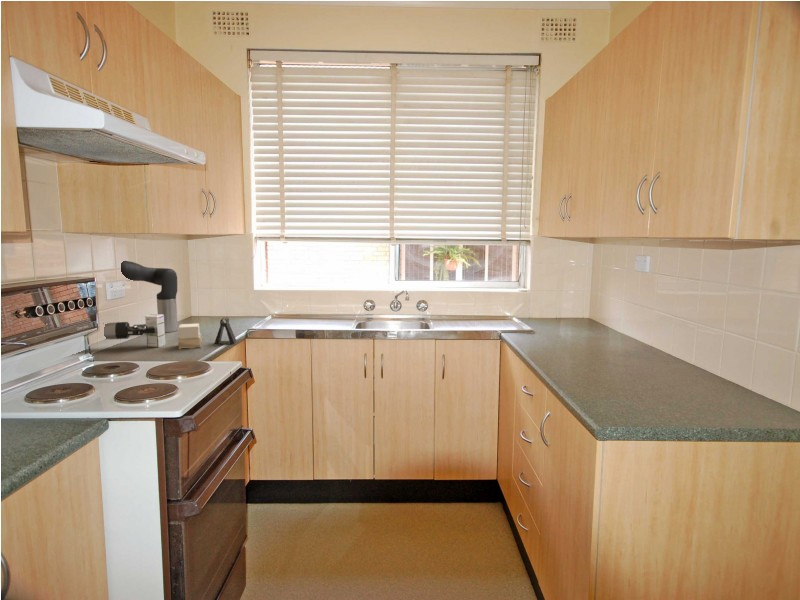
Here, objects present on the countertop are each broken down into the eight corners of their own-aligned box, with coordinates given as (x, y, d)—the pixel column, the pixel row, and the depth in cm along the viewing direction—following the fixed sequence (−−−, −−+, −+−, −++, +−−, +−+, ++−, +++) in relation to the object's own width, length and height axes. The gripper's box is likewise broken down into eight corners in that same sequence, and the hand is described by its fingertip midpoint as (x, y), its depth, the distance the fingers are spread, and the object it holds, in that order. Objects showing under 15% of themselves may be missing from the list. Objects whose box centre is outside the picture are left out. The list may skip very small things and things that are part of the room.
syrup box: (166, 344, 223) (164, 313, 221) (158, 347, 217) (156, 316, 215) (154, 344, 224) (152, 313, 222) (146, 347, 218) (144, 315, 216)
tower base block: (181, 345, 223) (180, 334, 223) (201, 344, 226) (201, 333, 225) (178, 349, 215) (178, 338, 214) (200, 348, 218) (199, 337, 217)
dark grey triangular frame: (214, 344, 224) (213, 319, 223) (216, 341, 230) (215, 317, 228) (234, 344, 226) (233, 318, 224) (236, 341, 231) (235, 316, 230)
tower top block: (180, 335, 222) (180, 324, 221) (199, 333, 225) (199, 323, 224) (179, 338, 215) (178, 327, 214) (198, 337, 217) (198, 326, 217)
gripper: (111, 325, 208) (153, 323, 212) (119, 319, 221) (158, 318, 226) (112, 342, 209) (154, 340, 213) (121, 335, 222) (159, 333, 227)
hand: (156, 328), depth 220 cm, fingers open, 8 cm apart
